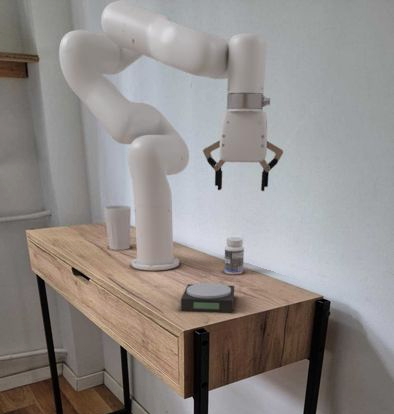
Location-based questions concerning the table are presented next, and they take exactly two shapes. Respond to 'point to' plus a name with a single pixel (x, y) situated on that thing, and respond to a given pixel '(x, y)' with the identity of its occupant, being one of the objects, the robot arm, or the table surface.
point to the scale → (208, 297)
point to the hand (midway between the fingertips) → (241, 189)
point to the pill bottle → (234, 256)
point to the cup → (118, 226)
